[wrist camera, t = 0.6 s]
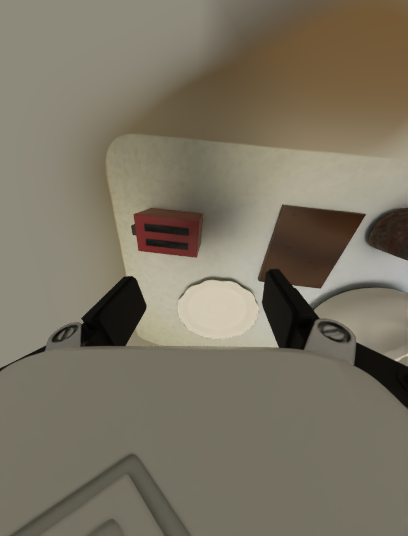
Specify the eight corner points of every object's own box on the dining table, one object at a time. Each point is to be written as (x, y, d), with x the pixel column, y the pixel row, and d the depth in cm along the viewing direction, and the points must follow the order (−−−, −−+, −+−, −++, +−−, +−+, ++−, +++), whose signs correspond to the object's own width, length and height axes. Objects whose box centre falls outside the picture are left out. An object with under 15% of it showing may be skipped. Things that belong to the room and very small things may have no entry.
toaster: (144, 207, 28) (123, 213, 22) (203, 213, 28) (199, 221, 22) (147, 237, 31) (130, 250, 25) (200, 243, 31) (196, 257, 25)
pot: (283, 304, 37) (328, 382, 22) (405, 259, 29) (596, 331, 15) (311, 356, 47) (355, 434, 32) (409, 332, 39) (527, 421, 24)
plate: (274, 303, 37) (276, 307, 36) (224, 343, 46) (225, 348, 45) (206, 261, 33) (205, 264, 31) (166, 314, 42) (164, 318, 40)
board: (282, 204, 26) (284, 205, 25) (361, 213, 26) (366, 214, 25) (257, 278, 34) (258, 281, 33) (318, 285, 34) (320, 288, 33)
